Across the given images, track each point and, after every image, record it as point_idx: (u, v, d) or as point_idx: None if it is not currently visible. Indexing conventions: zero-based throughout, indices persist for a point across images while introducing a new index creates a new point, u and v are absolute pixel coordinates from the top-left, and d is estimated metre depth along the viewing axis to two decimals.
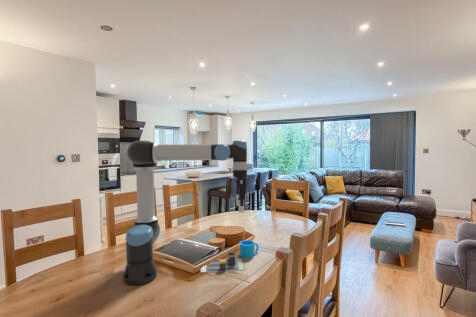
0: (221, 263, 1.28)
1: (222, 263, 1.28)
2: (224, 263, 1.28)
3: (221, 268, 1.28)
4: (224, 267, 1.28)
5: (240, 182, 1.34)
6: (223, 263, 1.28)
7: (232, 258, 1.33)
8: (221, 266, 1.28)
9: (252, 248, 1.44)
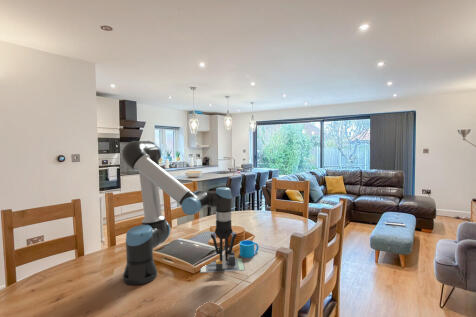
0: (217, 263, 1.28)
1: (219, 263, 1.28)
2: (221, 263, 1.28)
3: (217, 268, 1.28)
4: (221, 267, 1.28)
5: None
6: (220, 263, 1.28)
7: (232, 258, 1.33)
8: (217, 266, 1.28)
9: (252, 248, 1.44)
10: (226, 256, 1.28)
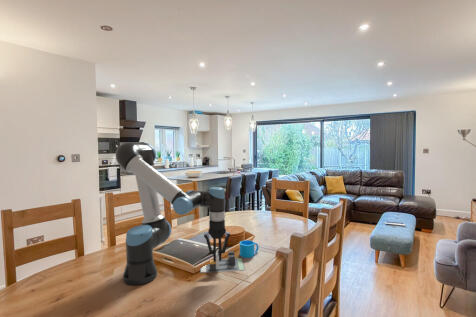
0: (211, 264, 1.27)
1: (212, 264, 1.27)
2: (214, 264, 1.27)
3: (211, 269, 1.27)
4: (214, 268, 1.27)
5: None
6: (213, 264, 1.27)
7: (232, 258, 1.33)
8: (211, 267, 1.27)
9: (252, 248, 1.44)
10: (220, 256, 1.28)
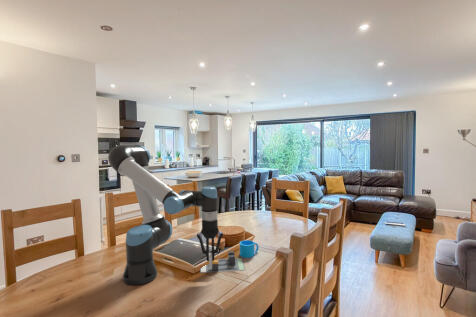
0: (213, 263, 1.27)
1: (214, 263, 1.27)
2: (216, 263, 1.27)
3: (213, 268, 1.27)
4: (216, 267, 1.28)
5: None
6: (215, 263, 1.27)
7: (232, 258, 1.33)
8: (213, 266, 1.27)
9: (252, 248, 1.44)
10: (213, 256, 1.27)
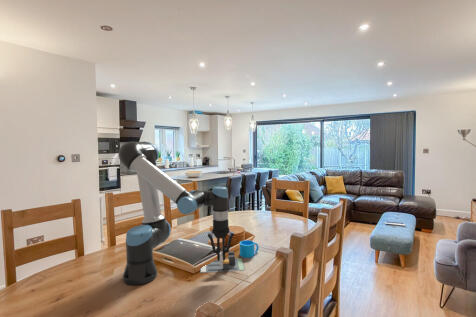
0: (224, 263, 1.28)
1: (225, 263, 1.28)
2: (227, 263, 1.28)
3: (224, 268, 1.28)
4: (227, 267, 1.28)
5: None
6: (226, 263, 1.28)
7: (232, 258, 1.33)
8: (224, 266, 1.28)
9: (252, 248, 1.44)
10: (223, 255, 1.28)
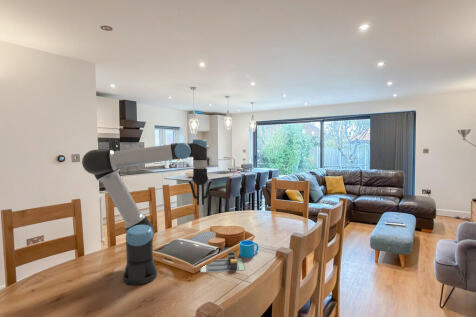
0: (232, 262, 1.28)
1: (233, 262, 1.28)
2: (235, 262, 1.28)
3: (232, 267, 1.28)
4: (235, 266, 1.29)
5: None
6: (234, 262, 1.28)
7: (232, 258, 1.33)
8: (232, 265, 1.28)
9: (252, 248, 1.44)
10: (202, 201, 1.44)
